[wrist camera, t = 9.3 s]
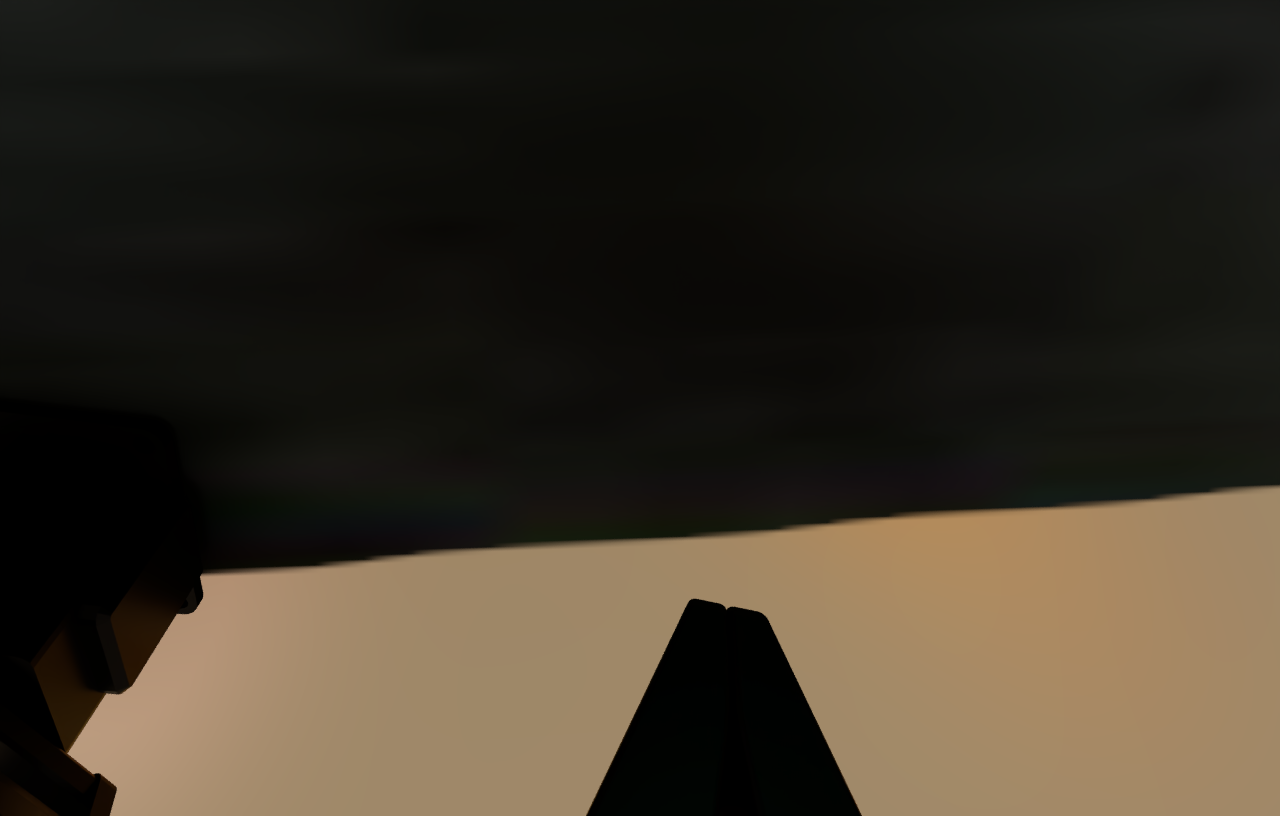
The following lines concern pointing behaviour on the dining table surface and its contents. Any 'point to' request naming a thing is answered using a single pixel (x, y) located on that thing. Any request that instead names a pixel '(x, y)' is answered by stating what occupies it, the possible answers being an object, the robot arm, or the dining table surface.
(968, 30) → the dining table surface
